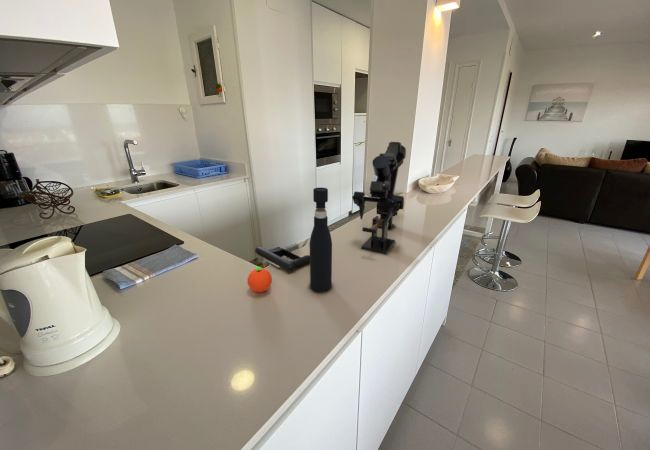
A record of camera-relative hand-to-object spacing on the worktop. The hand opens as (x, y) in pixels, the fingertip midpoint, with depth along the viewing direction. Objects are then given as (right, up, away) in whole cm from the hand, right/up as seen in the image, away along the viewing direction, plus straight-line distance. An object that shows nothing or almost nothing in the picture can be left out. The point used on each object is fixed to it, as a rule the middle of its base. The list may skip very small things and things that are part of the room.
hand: (373, 220), depth 100 cm
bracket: (+4, -10, +10) cm, 15 cm away
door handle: (-31, -14, 0) cm, 34 cm away
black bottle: (-19, -20, -17) cm, 32 cm away
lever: (+1, -3, +2) cm, 4 cm away
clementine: (-37, -21, -18) cm, 46 cm away
